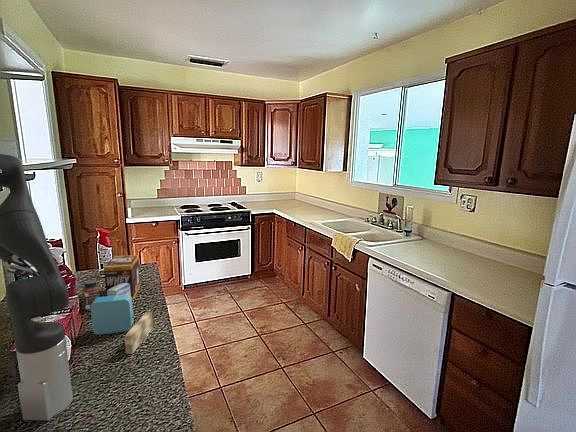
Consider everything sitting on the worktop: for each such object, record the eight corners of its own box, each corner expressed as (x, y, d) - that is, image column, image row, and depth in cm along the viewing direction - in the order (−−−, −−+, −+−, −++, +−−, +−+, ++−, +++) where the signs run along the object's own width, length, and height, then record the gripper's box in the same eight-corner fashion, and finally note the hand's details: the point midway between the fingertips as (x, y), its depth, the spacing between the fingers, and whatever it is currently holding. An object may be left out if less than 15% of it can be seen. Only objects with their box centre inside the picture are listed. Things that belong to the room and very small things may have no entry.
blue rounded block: (133, 324, 116) (131, 293, 113) (131, 330, 111) (129, 299, 109) (96, 328, 112) (93, 297, 110) (93, 335, 108) (89, 303, 106)
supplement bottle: (89, 313, 123) (86, 285, 121) (80, 309, 126) (77, 282, 124) (104, 306, 128) (102, 280, 126) (95, 303, 131) (92, 277, 129)
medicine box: (118, 311, 125) (116, 291, 123) (108, 310, 125) (106, 290, 124) (131, 302, 132) (130, 283, 130) (122, 301, 133) (120, 282, 131)
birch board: (132, 353, 99) (131, 335, 97) (125, 353, 99) (124, 335, 97) (154, 326, 114) (153, 310, 113) (148, 326, 114) (147, 310, 113)
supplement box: (106, 302, 132) (103, 267, 129) (116, 287, 146) (113, 255, 144) (133, 300, 134) (130, 265, 131) (140, 286, 149) (138, 254, 146)
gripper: (-7, 243, 99) (37, 280, 101) (27, 232, 112) (66, 266, 114) (-21, 258, 100) (23, 295, 102) (14, 246, 113) (53, 279, 115)
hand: (45, 280), depth 108 cm, fingers closed
